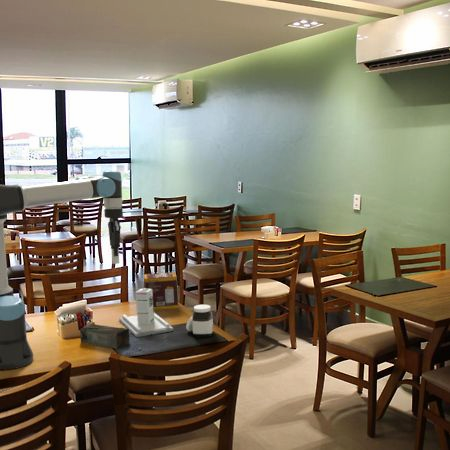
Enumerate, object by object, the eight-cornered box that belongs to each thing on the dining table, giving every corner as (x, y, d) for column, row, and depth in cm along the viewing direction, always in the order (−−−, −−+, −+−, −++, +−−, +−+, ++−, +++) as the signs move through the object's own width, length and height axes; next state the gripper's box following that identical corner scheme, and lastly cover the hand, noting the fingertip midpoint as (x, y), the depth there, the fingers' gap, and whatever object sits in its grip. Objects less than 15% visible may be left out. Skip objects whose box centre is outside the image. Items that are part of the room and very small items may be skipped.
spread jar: (209, 339, 224) (208, 310, 223) (182, 338, 227) (180, 309, 225) (216, 329, 236) (215, 302, 235) (189, 328, 238) (188, 301, 237)
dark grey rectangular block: (93, 337, 232) (92, 321, 231) (131, 343, 223) (130, 327, 222) (80, 343, 225) (79, 327, 224) (118, 350, 216) (117, 333, 215)
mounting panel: (173, 330, 236) (173, 324, 236) (136, 337, 229) (135, 330, 229) (153, 315, 259) (153, 309, 259) (119, 320, 253) (119, 314, 252)
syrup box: (150, 325, 240) (148, 291, 238) (137, 324, 241) (135, 291, 239) (154, 320, 245) (153, 288, 244) (141, 320, 247) (139, 288, 245)
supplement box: (144, 305, 277) (143, 274, 275) (176, 302, 280) (174, 271, 278) (145, 310, 267) (144, 278, 265) (178, 308, 270) (177, 276, 268)
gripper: (126, 208, 233) (128, 265, 236) (118, 206, 245) (120, 260, 248) (108, 209, 230) (110, 266, 233) (101, 207, 242) (103, 261, 245)
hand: (115, 263), depth 240 cm, fingers closed
